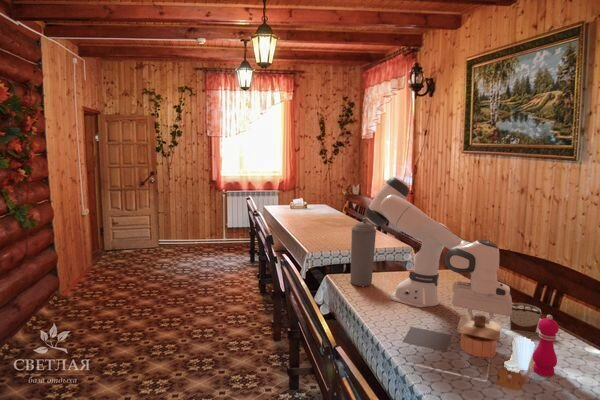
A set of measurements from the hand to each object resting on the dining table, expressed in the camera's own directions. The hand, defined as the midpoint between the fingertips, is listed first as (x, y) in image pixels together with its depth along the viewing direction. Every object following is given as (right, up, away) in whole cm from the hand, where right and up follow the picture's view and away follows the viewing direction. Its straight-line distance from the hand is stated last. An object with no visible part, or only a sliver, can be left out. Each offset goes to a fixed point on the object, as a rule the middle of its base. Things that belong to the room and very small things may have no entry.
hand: (479, 322), depth 166 cm
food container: (+26, -9, +22) cm, 35 cm away
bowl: (0, -11, +1) cm, 11 cm away
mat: (-16, -9, +9) cm, 21 cm away
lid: (0, -3, 0) cm, 3 cm away
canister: (-33, 0, +74) cm, 81 cm away
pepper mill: (+16, -14, -13) cm, 25 cm away
